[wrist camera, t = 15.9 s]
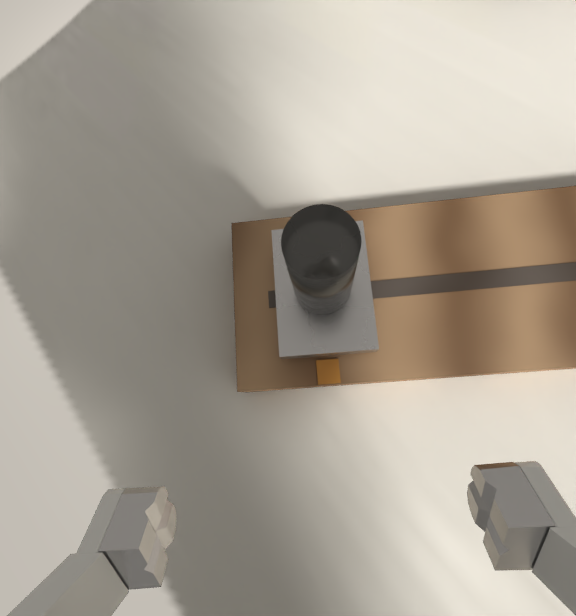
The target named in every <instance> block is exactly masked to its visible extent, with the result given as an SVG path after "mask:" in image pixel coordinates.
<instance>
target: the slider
mask: <svg viewBox="0 0 576 616" xmlns="http://www.w3.org/2000/svg"><path fill="white" fill-rule="evenodd" d="M271 231H272V247H273V263H274V279H275V295H276V311H277V327H278V344H279V357H280V358H281V359H294V358H307V357H320V356H332V355H345V354H358V353H370V352H377V351H378V350H379V344H378V336H377V328H376V320H375V312H374V304H373V296H372V288H371V281H370V273H369V265H368V257H367V249H366V241H365V233H364V225H363V220H362V221H355V220H354V219H353V218H352V217H351V216H350V215H349V214H348V213H347V212H345V211H344V210H342V209H340V208H338V207H335V206H331V205H323V204H321V205H313V206H309V207H306V208H304V209H302V210H300V211H298V212H297V213H296V214H294V215H293V216H292V217H291V218H290V220H289V221H288V222H287V224H286V225H285V227H284V229H278V230H271Z"/></svg>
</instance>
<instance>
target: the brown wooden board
mask: <svg viewBox="0 0 576 616" xmlns="http://www.w3.org/2000/svg"><path fill="white" fill-rule="evenodd" d="M345 212H347V213H348V214H349V215H350V216H351V217H352V218H353V219H354V220H355V221H362V220H363V225H364V233H365V241H366V249H367V257H368V265H369V273H370V281H371V288H372V296H373V304H374V312H375V320H376V328H377V336H378V344H379V350H378V351H377V352H370V353H358V354H345V355H332V356H320V357H307V358H294V359H281V358H280V357H279V344H278V327H277V311H276V295H275V279H274V263H273V247H272V231H271V230H278V229H284V227H285V225H286V224H287V222H288V221H289V220H290V218H291V217H285V218H276V219H267V220H258V221H248V222H239V223H232V251H233V280H234V308H235V337H236V366H237V392H256V391H270V390H283V389H297V388H311V387H325V386H338V385H352V384H366V383H380V382H394V381H407V380H421V379H435V378H449V377H462V376H476V375H490V374H504V373H518V372H531V371H545V370H559V369H573V368H576V186H570V187H561V188H552V189H543V190H534V191H524V192H515V193H506V194H497V195H488V196H478V197H469V198H460V199H451V200H442V201H432V202H423V203H414V204H405V205H396V206H386V207H377V208H368V209H359V210H350V211H345Z"/></svg>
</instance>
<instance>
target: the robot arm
mask: <svg viewBox="0 0 576 616" xmlns="http://www.w3.org/2000/svg"><path fill="white" fill-rule="evenodd" d="M471 476H472V479H473V481H472V482H471V483H470V484H469V485H468V490H467V497H468V504H469V508H470V511H471V514H472V517H473V519H474V522H475V524H477V525H478V526H479V527H480V528H481V529H482V530H484V531H485V535H484V539H483V543H484V546H485V548H486V550H487V553H488V555H489V557H490V560H491V562H492V564H493V567H494V569H495V570H532V573H533V574H534V575H536V576H537V577H538V578H539V579H540V580H541V581H542V582H543V583H544V584H545V585H546V586H547V587H548V588H549V589H550V590H551V591H552V592H553V593H554V594H555V595H556V596H557V597H558V598H559V599H560V600H561V601H562V602H563V603H564V604H565V605H566V606H567V607H568V608H569V609H570V610H571V611H572V612H573V613H574V614H575V615H576V517H575V516H574V514H573V513H572V511H571V510H570V508H569V507H568V505H567V504H566V502H565V501H564V499H563V498H562V496H561V495H560V493H559V492H558V490H557V489H556V487H555V486H554V484H553V483H552V481H551V480H550V478H549V477H548V475H547V474H546V472H545V471H544V469H543V467H542V466H541V465H540V464H539V463H538V462H536V461H527V462H515V463H513V462H507V463H495V464H483V465H474V466H473V467H472V469H471ZM168 494H169V493H168V491H167V489H166V488H165V486H162V487H143V488H122V489H109V490H108V491H107V492H106V493H105V494H104V495H103V497H102V499H101V501H100V503H99V505H98V508H97V510H96V512H95V514H94V516H93V519H92V521H91V523H90V525H89V527H88V530H87V532H86V534H85V536H84V538H83V540H82V542H81V545H80V547H79V549H78V551H77V553H76V554H70V556H68V557H67V558H66V559H65V560H64V561H63V562H62V563H61V564H60V565H59V566H58V567H57V568H56V569H55V570H54V571H53V572H52V573H51V574H50V575H49V576H48V577H47V578H46V579H45V580H43V581H42V582H41V584H39V585H38V586H37V587H36V588H35V589H34V590H33V591H32V592H31V593H30V594H29V595H28V596H27V597H26V598H25V599H24V600H23V601H22V602H21V603H20V604H19V605H18V606H17V607H16V608H14V609H13V610H12V612H10V613H9V614H8V615H7V616H111V615H112V614H113V613H114V611H115V610H116V609H117V607H118V606H119V605H120V603H121V602H122V601H123V599H124V598H125V596H126V595H127V594H128V592H129V591H128V590H129V589H140V588H154V587H161V585H162V581H163V577H164V574H165V570H166V566H167V562H168V556H167V554H166V551H165V549H166V548H167V547H168V546H169V545H170V544H171V542H172V541H173V539H174V535H175V531H176V520H177V516H176V509H175V507H174V504H173V503H171V502H170V501H168V500H167V498H168Z"/></svg>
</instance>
